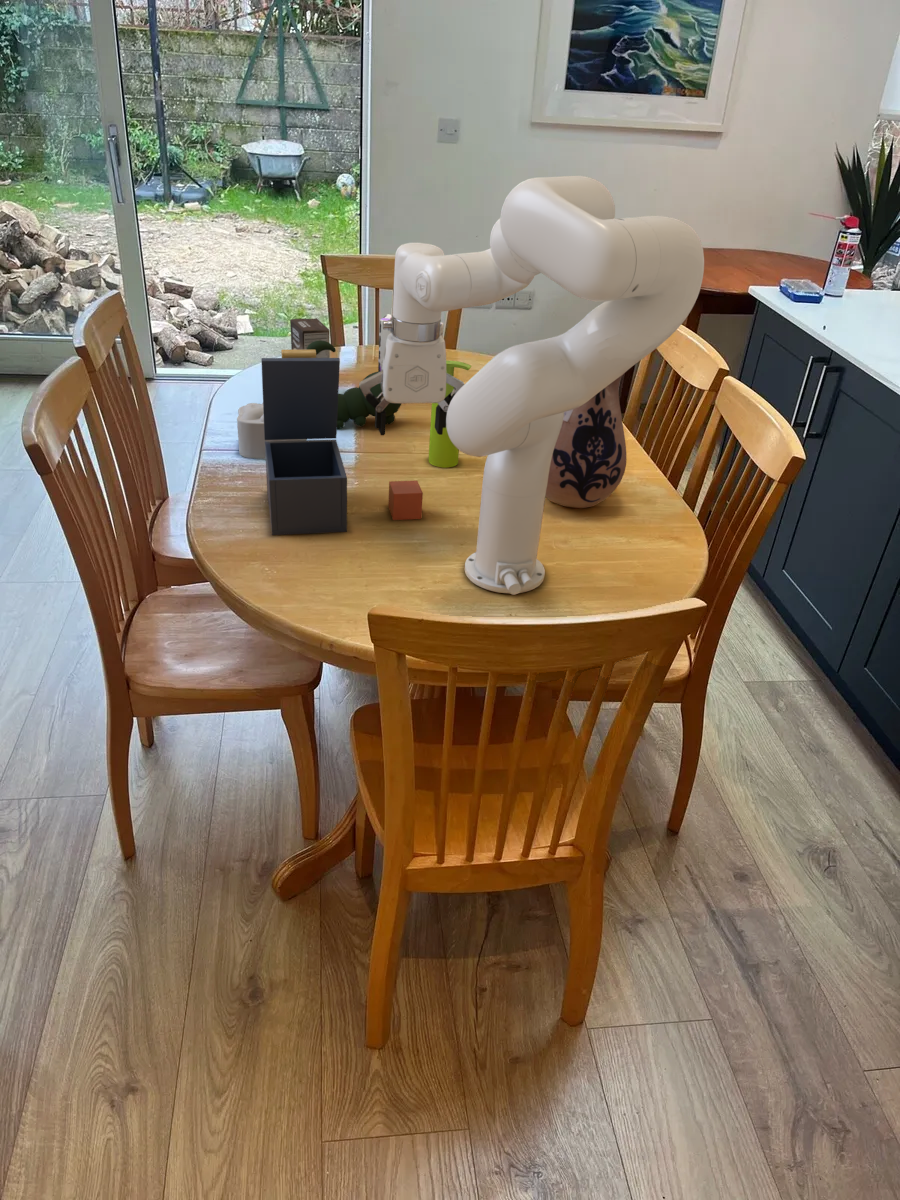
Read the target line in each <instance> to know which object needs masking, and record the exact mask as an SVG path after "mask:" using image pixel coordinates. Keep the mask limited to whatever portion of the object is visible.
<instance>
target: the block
mask: <svg viewBox="0 0 900 1200" xmlns="http://www.w3.org/2000/svg"><path fill="white" fill-rule="evenodd" d="M423 497H424V493H423V490H422V488H421V485H420V483H419V481H418V480H395V481H394V480H392V481H388V503H387V504H388V506H387V507H388V510H389V513H390V515H391V519H392V520H393V521H407V520H421V519H422V515H423Z"/></svg>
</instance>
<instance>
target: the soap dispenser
mask: <svg viewBox="0 0 900 1200" xmlns="http://www.w3.org/2000/svg"><path fill="white" fill-rule="evenodd" d="M455 368H457V369H462V370H465V371H469V370H470V369H471V368H472V364H469V363H466V362H464V361H458V360H446V373H448V374H450V375H451V376H453V377H455V376H454V375H455ZM453 389H454V387H453V386H451V385H449V384H447V383H446V395H445V398H446V397H447V396H448V395H449V394H450V393H451V392H452V391H453ZM437 405H438V403H431V408H430V409H431V411H430V426H429V427H430V428H429V445H428V459H427V460H428V463H429V464H430V465H432V466H433V467H437V468H445V469H447V468H454V467H455V466H457V465H458V464H459V455H460V450H458V449H457V448H456V447H455V446H454V444H453V443H452V442H451V440H450V438H449V436H448V432H447V428H443V433H442V435H439V434H438V433H437V431H436V429H435V416H436V407H437Z"/></svg>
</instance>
